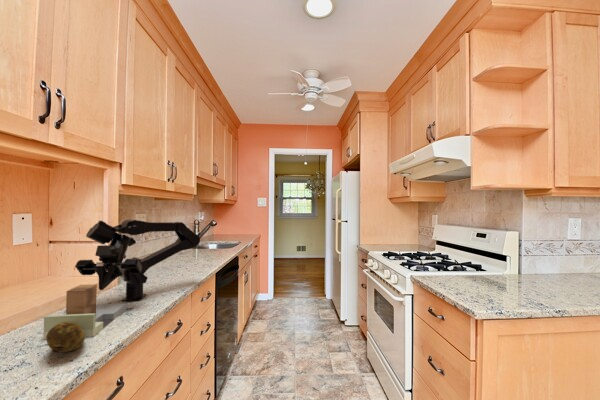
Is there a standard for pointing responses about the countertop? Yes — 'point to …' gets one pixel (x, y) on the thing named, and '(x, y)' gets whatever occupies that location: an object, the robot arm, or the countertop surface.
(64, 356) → the countertop surface
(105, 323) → the trap board
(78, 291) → the walnut block
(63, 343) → the potato
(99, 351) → the countertop surface
